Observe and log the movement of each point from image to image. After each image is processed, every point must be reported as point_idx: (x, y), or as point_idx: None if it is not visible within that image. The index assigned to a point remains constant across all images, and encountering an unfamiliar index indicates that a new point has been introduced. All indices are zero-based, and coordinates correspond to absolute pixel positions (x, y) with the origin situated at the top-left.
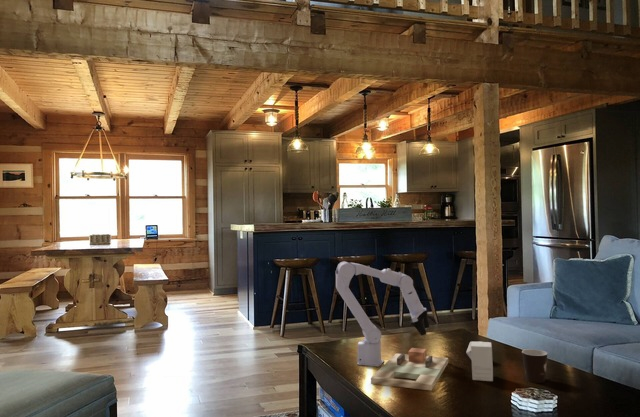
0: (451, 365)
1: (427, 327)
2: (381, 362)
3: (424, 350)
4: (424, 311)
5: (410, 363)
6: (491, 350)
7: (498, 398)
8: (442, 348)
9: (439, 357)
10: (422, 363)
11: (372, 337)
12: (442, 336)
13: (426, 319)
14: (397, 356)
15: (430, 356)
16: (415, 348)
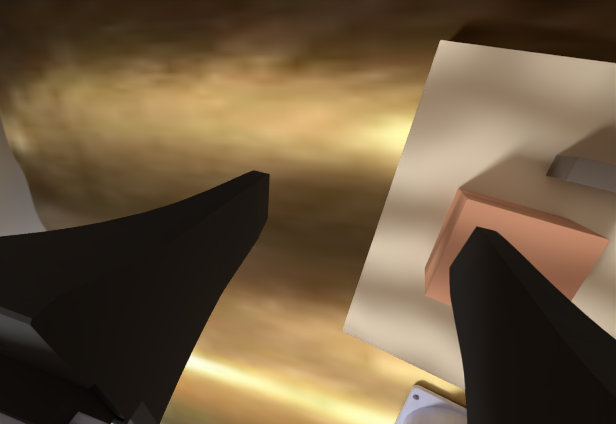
0: (501, 24)
1: (268, 191)
2: (454, 409)
3: (519, 218)
4: (75, 349)
5: (577, 302)
6: None
7: None
8: (177, 85)
9: (426, 101)
10: (588, 227)
11: None
12: (36, 84)
13: (213, 226)
14: (403, 337)
15: (597, 173)
16: (445, 274)
